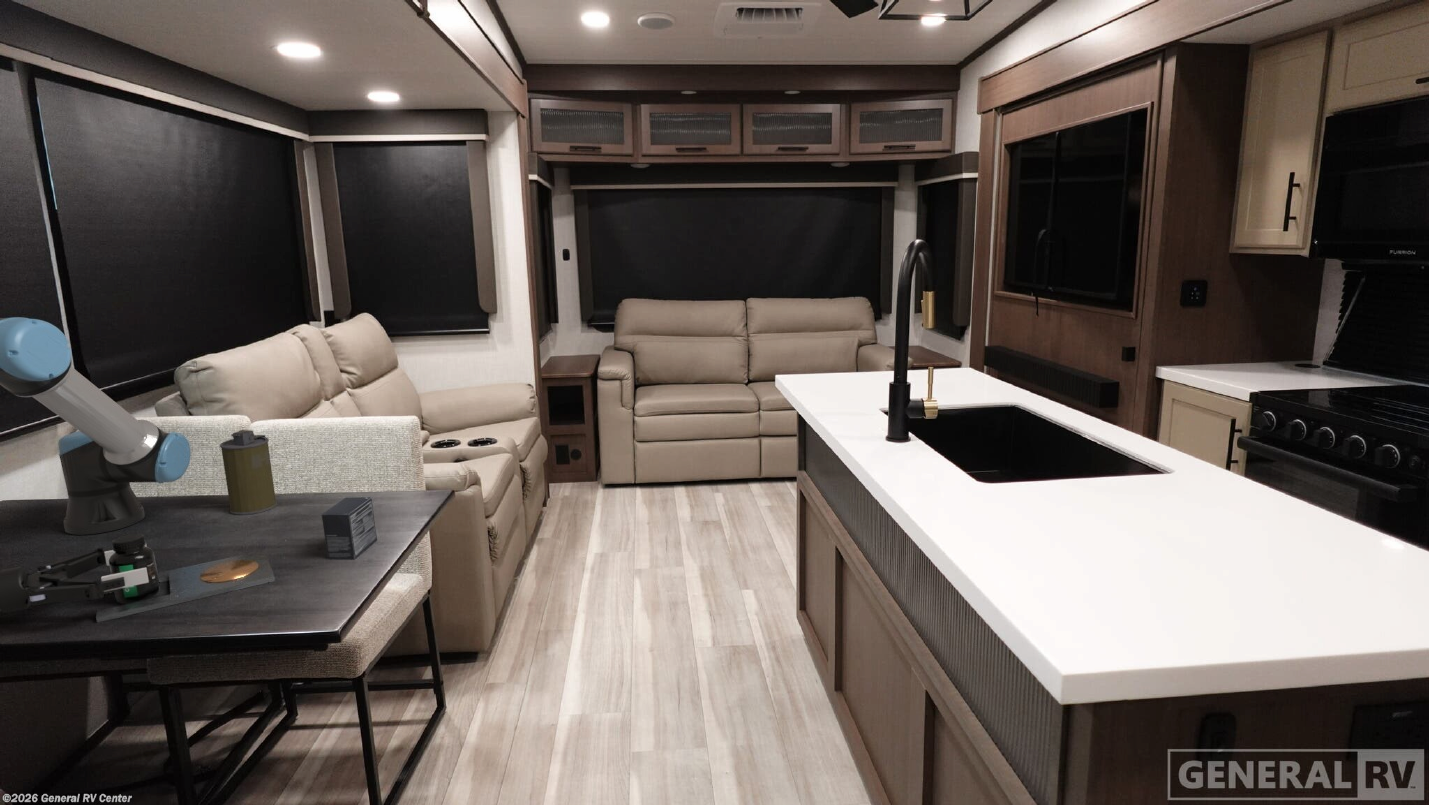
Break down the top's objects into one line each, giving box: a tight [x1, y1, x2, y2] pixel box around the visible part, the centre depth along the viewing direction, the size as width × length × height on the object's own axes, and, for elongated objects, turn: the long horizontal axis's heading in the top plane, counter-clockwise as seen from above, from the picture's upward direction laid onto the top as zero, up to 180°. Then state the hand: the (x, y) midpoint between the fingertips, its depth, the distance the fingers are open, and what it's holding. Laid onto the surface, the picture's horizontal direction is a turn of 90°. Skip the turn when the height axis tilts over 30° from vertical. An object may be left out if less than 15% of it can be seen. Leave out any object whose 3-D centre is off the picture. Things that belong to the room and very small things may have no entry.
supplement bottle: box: [109, 532, 161, 605], centre depth 145 cm, size 7×7×12 cm
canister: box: [219, 429, 278, 516], centre depth 191 cm, size 11×10×20 cm
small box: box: [321, 496, 378, 560], centre depth 167 cm, size 11×6×10 cm, turn 178°
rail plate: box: [95, 550, 276, 623], centre depth 151 cm, size 28×16×1 cm, turn 126°
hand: (147, 562), depth 146 cm, fingers open, 13 cm apart
